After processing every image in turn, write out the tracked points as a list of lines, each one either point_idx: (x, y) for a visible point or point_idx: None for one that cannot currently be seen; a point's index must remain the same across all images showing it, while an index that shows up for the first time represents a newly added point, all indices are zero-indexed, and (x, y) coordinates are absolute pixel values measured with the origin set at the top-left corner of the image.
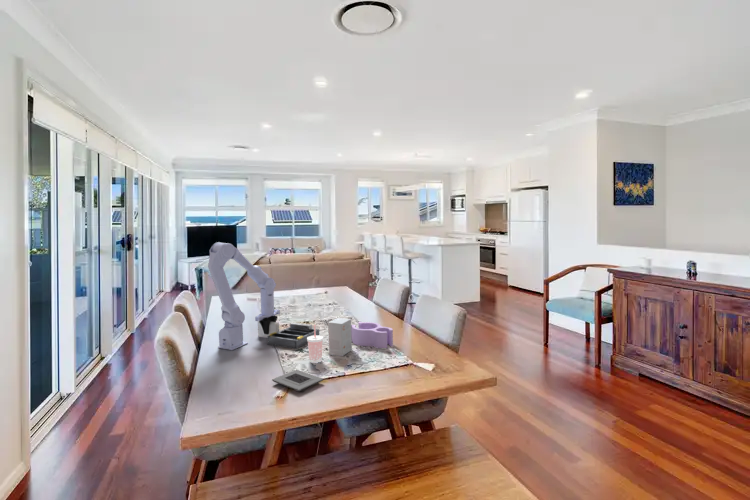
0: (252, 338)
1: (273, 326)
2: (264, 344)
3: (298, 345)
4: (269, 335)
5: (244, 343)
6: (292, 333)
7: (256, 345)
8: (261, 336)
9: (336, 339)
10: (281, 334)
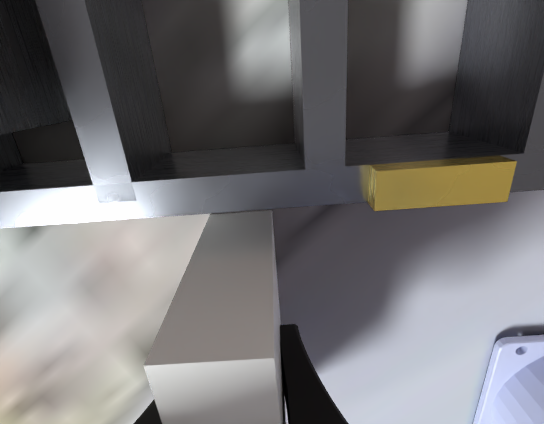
0: (349, 392)
1: (276, 346)
2: None
3: None
4: (278, 304)
5: (541, 347)
6: (109, 5)
7: (526, 241)
8: None
9: None
10: (343, 71)
